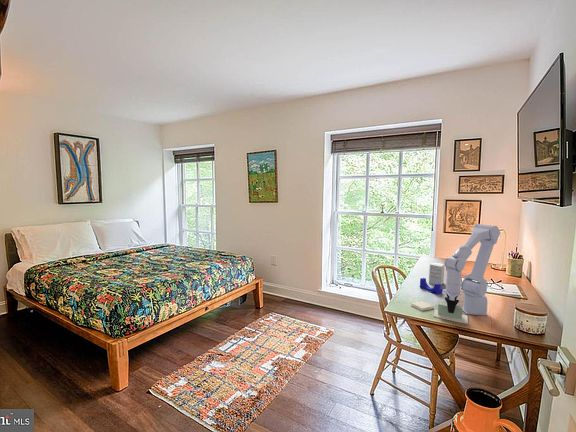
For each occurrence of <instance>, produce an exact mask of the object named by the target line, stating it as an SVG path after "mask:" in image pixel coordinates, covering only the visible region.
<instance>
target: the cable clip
mask: <svg viewBox="0 0 576 432" xmlns="http://www.w3.org/2000/svg"><path fill="white" fill-rule="evenodd" d="M428 284H429V283H428V282H427V278H426V277H421V278H420V281H419V288H420V289H422V290H425V291H428V292H430V293H431V294H434V295H441V294H443V288H442V285H441V284H440V283H437V284H435V285H434V286H433V287H431V286H430V285H428Z"/></svg>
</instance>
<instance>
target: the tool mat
mask: <svg viewBox="0 0 576 432" xmlns="http://www.w3.org/2000/svg"><path fill="white" fill-rule="evenodd" d="M433 318H437V319H442V320H445V321H447V320H448V321H451V322H456V323H459V324H461V323H462V324H465V325H466V324H467V325H469V317H468V314H462V319H458V318H453V317H449V316H444V315H439V314H438V308H434V312H433Z"/></svg>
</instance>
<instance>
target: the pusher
mask: <svg viewBox="0 0 576 432" xmlns="http://www.w3.org/2000/svg"><path fill="white" fill-rule="evenodd" d="M437 305H438V306H437V307H438V308H437V310H438V314H439V315H444V316H449V317H453V318H458V319H462V315H463V306H461V305H456V307H455V311H454V313H448V307H447V302H446V303H445V302H440V301H439V302H438V304H437Z"/></svg>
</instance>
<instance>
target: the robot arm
mask: <svg viewBox="0 0 576 432" xmlns="http://www.w3.org/2000/svg"><path fill="white" fill-rule="evenodd" d="M500 234H501V233H500V229H499V227H498V226H497V225H491V224H490V225H489V224H481V223H475V224H474V225H473V227H472V228H471V233H470V236H469V237H468V238H467V240H466V242H465V243H464V245H460V246H459V247H458V248H457V249H456V250H455V251H454V253H453V254H452V255H451V256H448V257H447V258H445V261H444V264H445V266H444V268H445V271H446V280H445V281H446V282H445V289H444V288H442V293H443V292H444V293H445V295H446V296H445V297H444V300H445V302H446V304H447V307H448V313H454V311H455V307H456V306H458V304H459V302H460V299H457V298H458V297H459V296H460V294H461V291H462V293H464V294H463V295H464V296H463V306H462V307H463V310H462V312H463V313H465V315H475V316H477V315H478V316H488V314H487V313H488V303H489V302H488V298H487V296H486V294H487V290H488V282H487V280H486V278H484V276H485V272H486V270H487V267H488V264H489V261H490V257H491V255H492V253H493V249H494V246H495V245H496V244H497V243H498V240H499V237H500ZM479 243H480V246H479V248H478V252H477V255H476V258H475V261H474V264H473V267H472V270H471V271H470V273H469V274H466V275H465V276H464V278H463V280H462V281H461V277H462V271H463V270H464V269H465V267H466V263H467V260H468V258H470V256H471V255H472V254H473V251H472V249H474V247H475V246H476V245H477V244H479ZM460 290H461V291H460Z"/></svg>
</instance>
